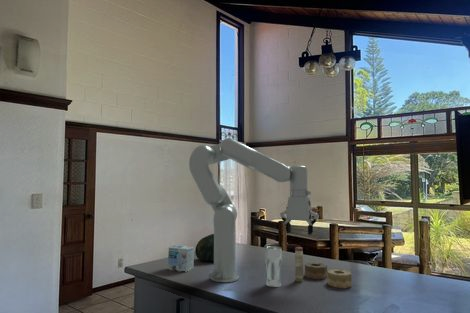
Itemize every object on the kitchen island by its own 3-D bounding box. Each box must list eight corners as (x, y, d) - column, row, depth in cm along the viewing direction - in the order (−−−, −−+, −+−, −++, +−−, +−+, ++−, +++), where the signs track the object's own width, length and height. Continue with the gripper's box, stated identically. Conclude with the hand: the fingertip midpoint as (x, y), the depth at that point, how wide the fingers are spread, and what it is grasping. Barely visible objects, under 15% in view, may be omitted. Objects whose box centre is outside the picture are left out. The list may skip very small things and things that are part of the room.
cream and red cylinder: (301, 282, 144) (301, 248, 145) (294, 281, 145) (294, 248, 146) (303, 280, 146) (303, 247, 147) (296, 279, 148) (296, 246, 149)
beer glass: (271, 288, 135) (271, 250, 136) (261, 283, 141) (262, 247, 142) (285, 286, 138) (285, 248, 139) (275, 281, 144) (275, 245, 146)
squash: (191, 247, 189) (197, 229, 181) (216, 246, 195) (223, 229, 187) (196, 269, 178) (203, 251, 170) (222, 268, 184) (230, 250, 176)
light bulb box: (167, 270, 162) (167, 247, 163) (175, 266, 168) (175, 244, 169) (187, 272, 158) (187, 248, 159) (194, 269, 164) (194, 246, 165)
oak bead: (352, 288, 136) (352, 275, 136) (329, 287, 137) (329, 274, 138) (348, 281, 145) (348, 269, 145) (326, 280, 146) (326, 268, 147)
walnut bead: (323, 280, 147) (323, 268, 147) (303, 277, 152) (302, 265, 152) (328, 275, 155) (328, 264, 155) (309, 272, 159) (309, 261, 160)
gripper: (320, 194, 147) (321, 234, 146) (283, 193, 156) (283, 231, 155) (315, 194, 141) (316, 236, 140) (276, 193, 150) (277, 233, 148)
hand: (299, 233), depth 147 cm, fingers open, 9 cm apart
